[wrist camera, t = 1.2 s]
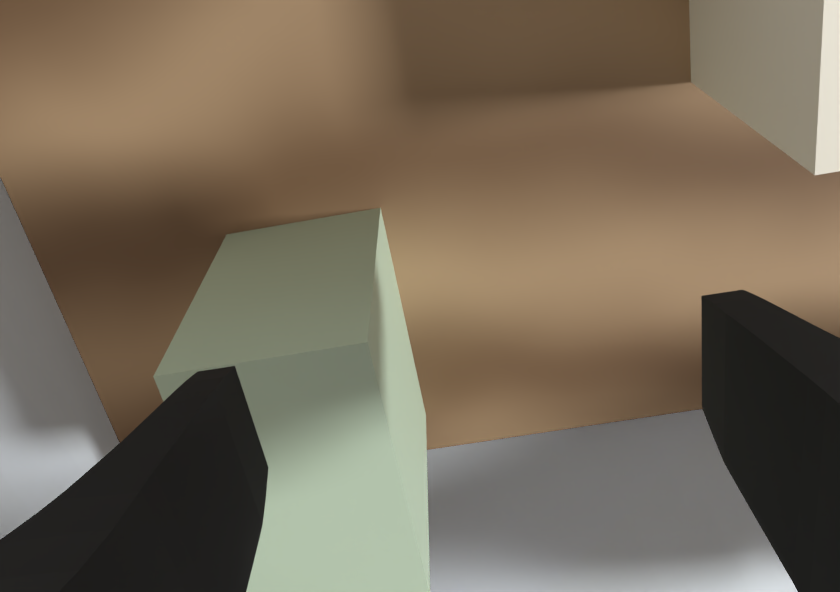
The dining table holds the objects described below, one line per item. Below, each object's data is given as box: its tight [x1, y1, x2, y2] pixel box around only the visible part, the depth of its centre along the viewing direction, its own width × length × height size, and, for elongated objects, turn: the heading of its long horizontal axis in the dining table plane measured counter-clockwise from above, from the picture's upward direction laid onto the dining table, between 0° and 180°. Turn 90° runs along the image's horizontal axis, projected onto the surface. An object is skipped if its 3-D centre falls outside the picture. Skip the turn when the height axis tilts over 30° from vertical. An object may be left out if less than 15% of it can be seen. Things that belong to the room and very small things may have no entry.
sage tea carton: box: [153, 208, 430, 592], centre depth 19 cm, size 4×6×6 cm, turn 10°
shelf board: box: [0, 0, 840, 450], centre depth 19 cm, size 16×24×4 cm
